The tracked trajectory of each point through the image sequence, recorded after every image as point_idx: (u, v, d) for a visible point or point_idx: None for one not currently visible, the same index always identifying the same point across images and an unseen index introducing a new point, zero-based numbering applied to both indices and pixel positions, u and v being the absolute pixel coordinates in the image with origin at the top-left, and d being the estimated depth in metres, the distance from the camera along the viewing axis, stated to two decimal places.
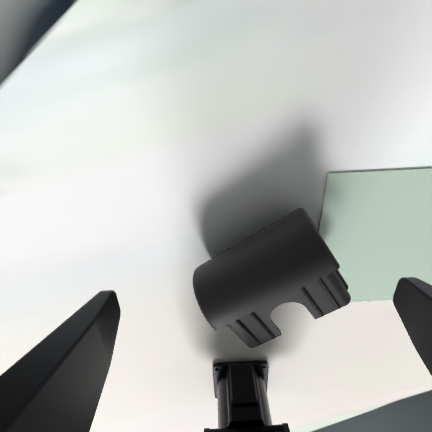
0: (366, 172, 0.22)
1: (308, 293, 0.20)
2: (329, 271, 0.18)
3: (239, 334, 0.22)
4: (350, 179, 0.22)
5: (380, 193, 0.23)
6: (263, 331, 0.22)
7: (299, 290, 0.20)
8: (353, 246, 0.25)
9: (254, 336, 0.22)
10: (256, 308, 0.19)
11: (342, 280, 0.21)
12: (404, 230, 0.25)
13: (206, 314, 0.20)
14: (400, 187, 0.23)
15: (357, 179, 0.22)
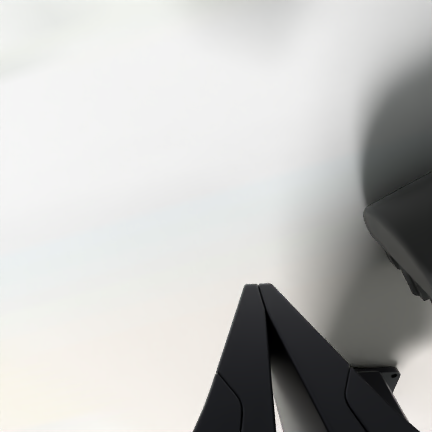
0: None
1: None
2: None
3: None
4: None
5: None
6: None
7: None
8: None
9: None
10: None
11: None
12: None
13: None
14: None
15: None
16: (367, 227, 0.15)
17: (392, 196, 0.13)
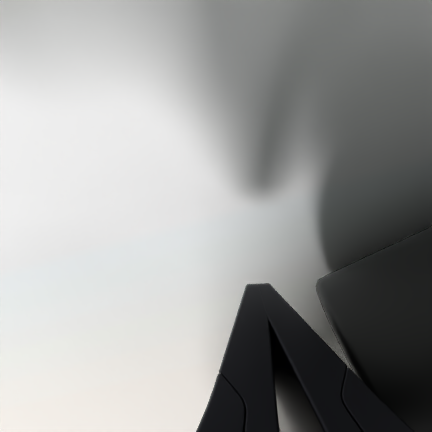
0: None
1: None
2: None
3: None
4: None
5: None
6: None
7: None
8: None
9: None
10: None
11: None
12: None
13: None
14: None
15: None
16: None
17: (352, 274, 0.08)
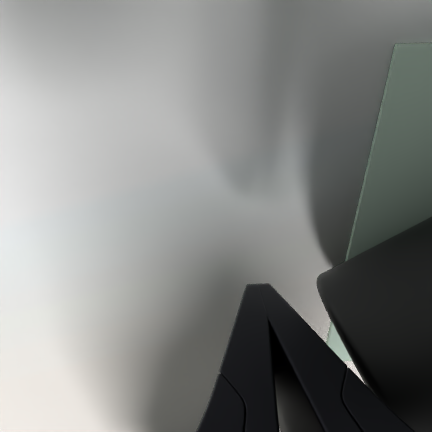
0: None
1: None
2: None
3: None
4: None
5: None
6: None
7: None
8: None
9: None
10: None
11: None
12: None
13: None
14: None
15: None
16: None
17: (352, 268, 0.08)
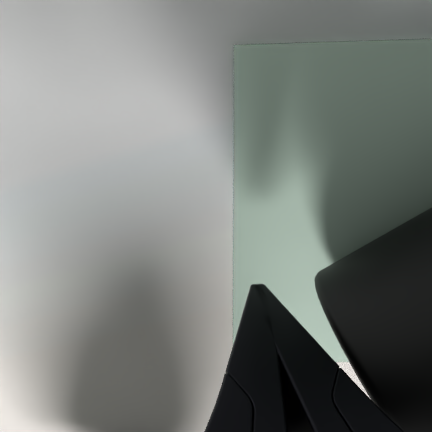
0: (342, 44, 0.08)
1: None
2: None
3: None
4: (298, 67, 0.08)
5: (380, 112, 0.09)
6: None
7: None
8: (316, 250, 0.11)
9: None
10: None
11: None
12: None
13: None
14: None
15: (317, 66, 0.08)
16: None
17: (348, 264, 0.08)
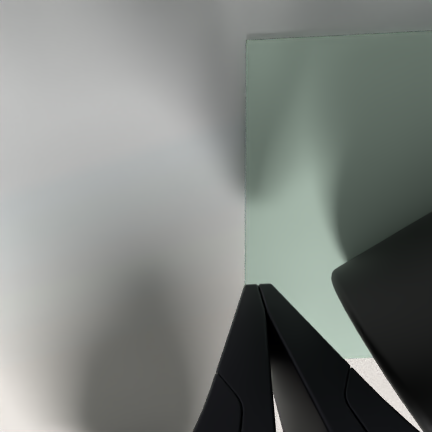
0: (356, 37, 0.08)
1: None
2: None
3: None
4: (311, 61, 0.08)
5: (395, 106, 0.09)
6: None
7: None
8: (329, 247, 0.11)
9: None
10: None
11: None
12: None
13: None
14: None
15: (331, 60, 0.08)
16: None
17: (367, 261, 0.08)
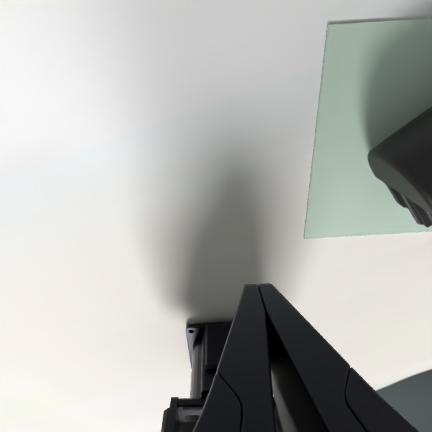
0: (383, 22, 0.15)
1: None
2: None
3: None
4: (360, 35, 0.16)
5: (402, 59, 0.16)
6: None
7: None
8: (363, 148, 0.19)
9: None
10: None
11: None
12: None
13: (429, 191, 0.13)
14: (431, 49, 0.16)
15: (370, 34, 0.16)
16: (372, 171, 0.18)
17: (389, 137, 0.16)
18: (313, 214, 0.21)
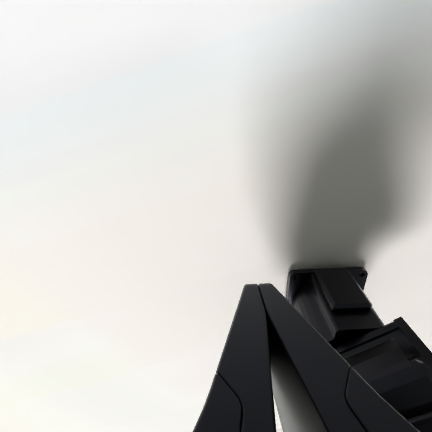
0: None
1: None
2: None
3: None
4: None
5: None
6: None
7: None
8: None
9: None
10: None
11: None
12: None
13: None
14: None
15: None
16: None
17: None
18: None
